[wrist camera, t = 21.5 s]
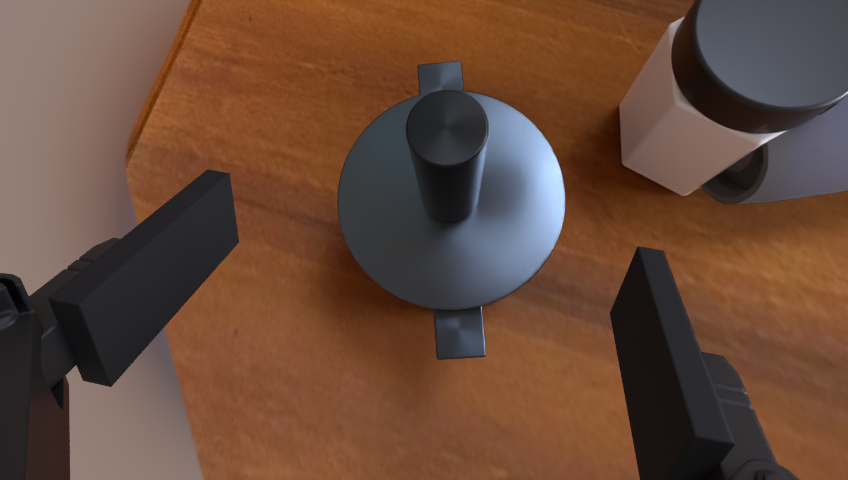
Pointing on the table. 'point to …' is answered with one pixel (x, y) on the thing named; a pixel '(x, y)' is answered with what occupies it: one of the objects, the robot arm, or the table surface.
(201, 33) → the table surface
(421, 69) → the pot
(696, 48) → the jar
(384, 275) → the lid
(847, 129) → the bluetooth speaker
